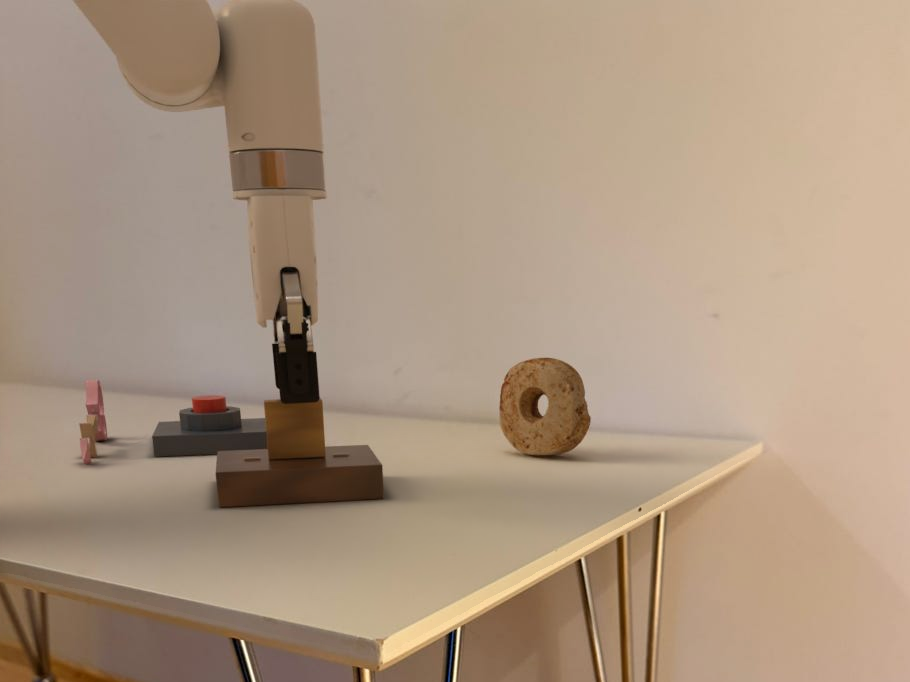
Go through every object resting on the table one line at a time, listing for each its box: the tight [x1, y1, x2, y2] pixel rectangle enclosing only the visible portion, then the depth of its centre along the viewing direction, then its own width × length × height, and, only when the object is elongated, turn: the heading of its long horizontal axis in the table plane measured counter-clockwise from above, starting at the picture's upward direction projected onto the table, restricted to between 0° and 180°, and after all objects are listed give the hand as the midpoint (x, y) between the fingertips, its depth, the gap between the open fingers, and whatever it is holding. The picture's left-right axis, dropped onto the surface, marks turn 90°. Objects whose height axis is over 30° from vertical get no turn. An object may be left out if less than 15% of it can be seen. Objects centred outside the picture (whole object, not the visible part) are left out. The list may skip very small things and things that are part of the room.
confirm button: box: [191, 394, 227, 413], centre depth 108 cm, size 4×4×2 cm
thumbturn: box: [263, 397, 326, 459], centre depth 87 cm, size 5×1×5 cm, turn 103°
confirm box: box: [151, 405, 268, 458], centre depth 109 cm, size 12×10×4 cm
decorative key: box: [78, 379, 108, 464], centre depth 106 cm, size 7×1×20 cm
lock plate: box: [215, 444, 385, 508], centre depth 88 cm, size 14×10×3 cm
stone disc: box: [499, 357, 592, 456], centre depth 103 cm, size 10×4×10 cm, turn 52°
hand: (296, 395), depth 86 cm, fingers open, 9 cm apart
